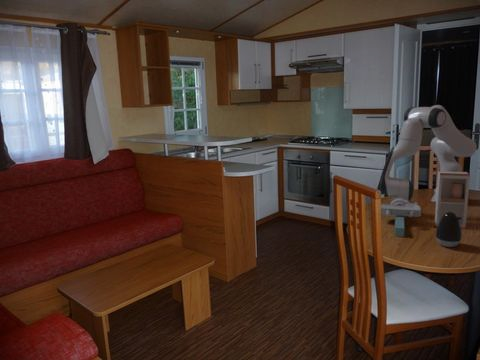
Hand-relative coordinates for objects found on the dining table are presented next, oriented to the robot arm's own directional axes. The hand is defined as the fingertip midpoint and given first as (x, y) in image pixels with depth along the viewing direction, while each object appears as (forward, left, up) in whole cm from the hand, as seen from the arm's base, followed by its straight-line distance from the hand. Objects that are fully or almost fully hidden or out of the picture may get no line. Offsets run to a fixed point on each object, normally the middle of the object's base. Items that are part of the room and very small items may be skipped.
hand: (399, 215), depth 204 cm
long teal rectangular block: (+4, 0, -7) cm, 8 cm away
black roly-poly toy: (+19, +20, -7) cm, 28 cm away
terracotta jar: (-11, +26, +7) cm, 29 cm away
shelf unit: (-11, +24, -7) cm, 27 cm away
